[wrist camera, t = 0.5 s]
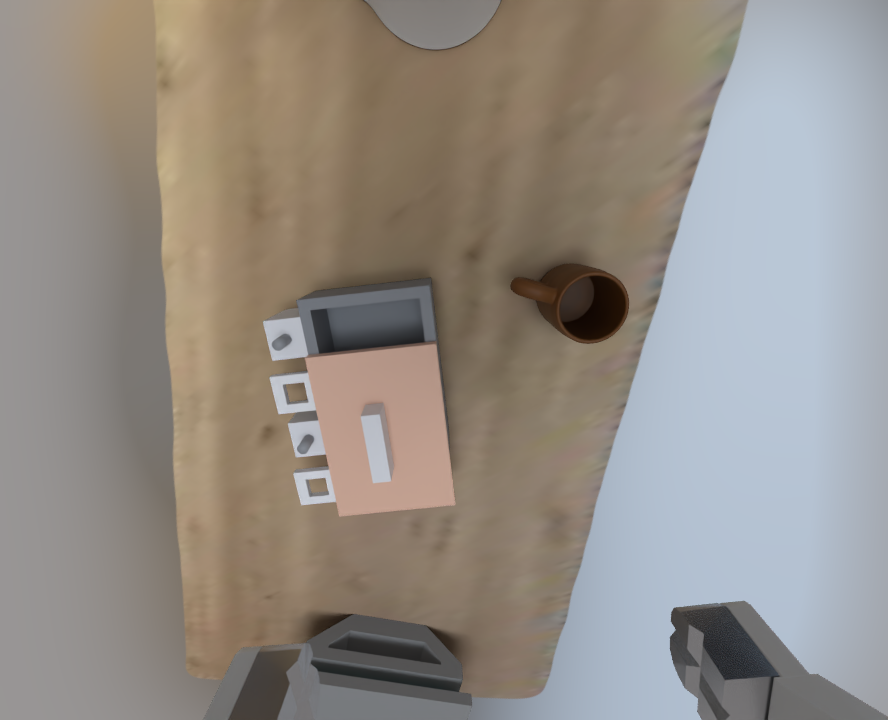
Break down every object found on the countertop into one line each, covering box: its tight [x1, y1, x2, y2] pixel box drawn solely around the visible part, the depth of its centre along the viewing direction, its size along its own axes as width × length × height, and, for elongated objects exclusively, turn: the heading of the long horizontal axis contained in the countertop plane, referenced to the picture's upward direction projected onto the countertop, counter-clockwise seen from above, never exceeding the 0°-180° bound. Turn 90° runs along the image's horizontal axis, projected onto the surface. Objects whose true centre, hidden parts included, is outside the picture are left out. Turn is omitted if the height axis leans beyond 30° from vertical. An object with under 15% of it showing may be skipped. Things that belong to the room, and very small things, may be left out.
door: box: [269, 341, 455, 516], centre depth 46 cm, size 20×18×4 cm
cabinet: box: [263, 278, 450, 457], centre depth 49 cm, size 20×18×9 cm
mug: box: [511, 264, 629, 344], centre depth 46 cm, size 12×8×9 cm, turn 74°
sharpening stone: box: [307, 614, 472, 720], centre depth 62 cm, size 25×8×11 cm, turn 78°
